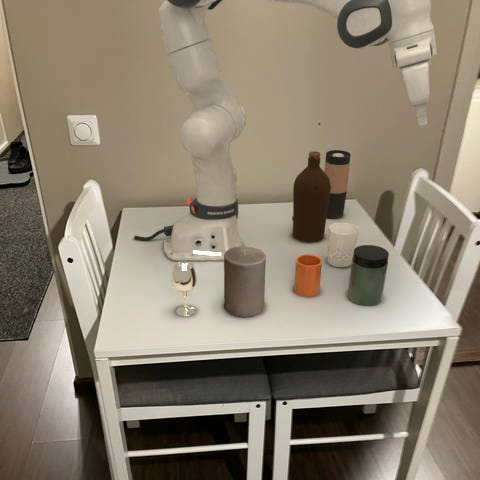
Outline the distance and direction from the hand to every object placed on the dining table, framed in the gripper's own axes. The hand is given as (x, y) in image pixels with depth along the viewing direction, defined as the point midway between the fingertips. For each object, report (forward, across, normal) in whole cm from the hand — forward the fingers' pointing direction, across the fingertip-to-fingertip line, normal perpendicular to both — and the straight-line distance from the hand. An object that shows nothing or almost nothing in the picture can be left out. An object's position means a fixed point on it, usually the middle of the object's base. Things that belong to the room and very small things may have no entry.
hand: (423, 121), depth 117 cm
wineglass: (+27, +22, -57) cm, 67 cm away
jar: (+37, +3, -19) cm, 42 cm away
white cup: (+34, -14, -26) cm, 45 cm away
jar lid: (+26, +4, -15) cm, 31 cm away
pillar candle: (+30, +16, -45) cm, 57 cm away
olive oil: (+29, -28, -37) cm, 55 cm away
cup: (+33, +4, -32) cm, 46 cm away
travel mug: (+29, -47, -32) cm, 64 cm away
